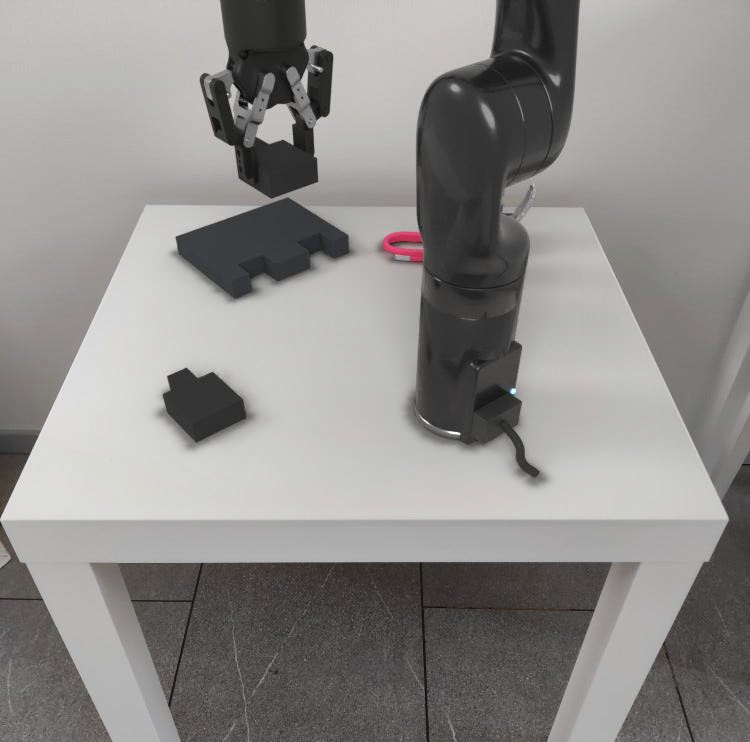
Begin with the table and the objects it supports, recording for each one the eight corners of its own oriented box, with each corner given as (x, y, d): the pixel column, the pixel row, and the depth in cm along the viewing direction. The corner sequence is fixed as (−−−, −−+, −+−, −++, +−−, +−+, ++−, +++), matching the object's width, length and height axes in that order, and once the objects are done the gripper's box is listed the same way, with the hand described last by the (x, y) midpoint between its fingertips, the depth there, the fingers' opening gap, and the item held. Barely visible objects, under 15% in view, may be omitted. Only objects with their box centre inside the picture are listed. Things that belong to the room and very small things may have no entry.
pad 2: (246, 418, 79) (243, 399, 78) (195, 442, 77) (191, 424, 75) (205, 379, 84) (201, 360, 82) (155, 401, 81) (150, 382, 79)
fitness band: (379, 259, 101) (380, 248, 100) (386, 237, 105) (386, 227, 104) (440, 264, 100) (441, 253, 99) (444, 242, 104) (445, 231, 103)
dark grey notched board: (349, 252, 102) (348, 235, 101) (234, 298, 95) (231, 281, 93) (289, 213, 110) (288, 196, 108) (178, 253, 102) (175, 236, 100)
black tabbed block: (318, 182, 80) (317, 157, 78) (271, 199, 77) (268, 174, 75) (272, 155, 84) (270, 132, 82) (225, 171, 81) (222, 147, 79)
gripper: (213, 6, 62) (239, 205, 74) (351, -24, 68) (354, 164, 80) (166, -14, 66) (198, 179, 78) (301, -41, 72) (311, 142, 84)
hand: (277, 171), depth 79 cm, fingers closed on black tabbed block, 6 cm apart
